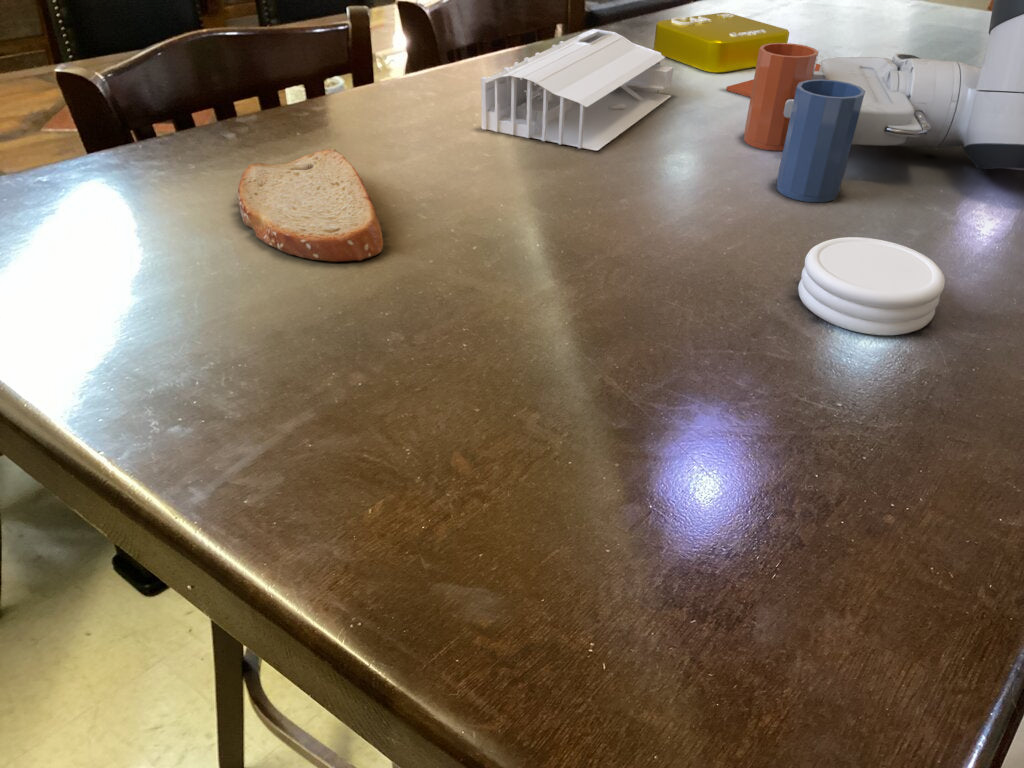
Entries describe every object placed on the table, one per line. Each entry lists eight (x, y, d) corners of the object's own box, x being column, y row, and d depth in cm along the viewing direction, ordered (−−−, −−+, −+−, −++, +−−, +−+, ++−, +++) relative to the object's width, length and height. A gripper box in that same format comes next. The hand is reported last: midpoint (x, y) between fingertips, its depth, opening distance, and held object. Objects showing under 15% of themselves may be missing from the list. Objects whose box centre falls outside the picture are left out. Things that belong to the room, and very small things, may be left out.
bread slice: (365, 269, 67) (361, 227, 65) (176, 239, 71) (166, 198, 69) (443, 188, 81) (442, 151, 78) (282, 167, 85) (276, 131, 83)
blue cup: (850, 192, 81) (878, 90, 75) (815, 207, 78) (841, 102, 72) (799, 174, 85) (821, 75, 79) (763, 188, 82) (784, 86, 76)
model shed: (594, 153, 89) (599, 88, 85) (479, 130, 95) (478, 68, 91) (672, 95, 107) (679, 39, 103) (572, 79, 113) (575, 25, 108)
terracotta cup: (808, 143, 93) (829, 51, 87) (776, 155, 90) (795, 60, 84) (765, 129, 96) (782, 40, 91) (732, 140, 93) (748, 48, 87)
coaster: (813, 262, 69) (823, 224, 67) (940, 293, 65) (955, 253, 63) (781, 314, 62) (791, 273, 60) (921, 352, 58) (937, 310, 56)
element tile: (713, 75, 115) (718, 39, 112) (647, 51, 125) (651, 17, 123) (789, 62, 121) (796, 27, 118) (721, 40, 132) (726, 8, 129)
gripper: (924, 166, 81) (781, 154, 83) (891, 105, 97) (771, 96, 99) (945, 102, 77) (794, 91, 79) (906, 49, 93) (782, 42, 96)
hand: (781, 94), depth 89 cm, fingers open, 8 cm apart
